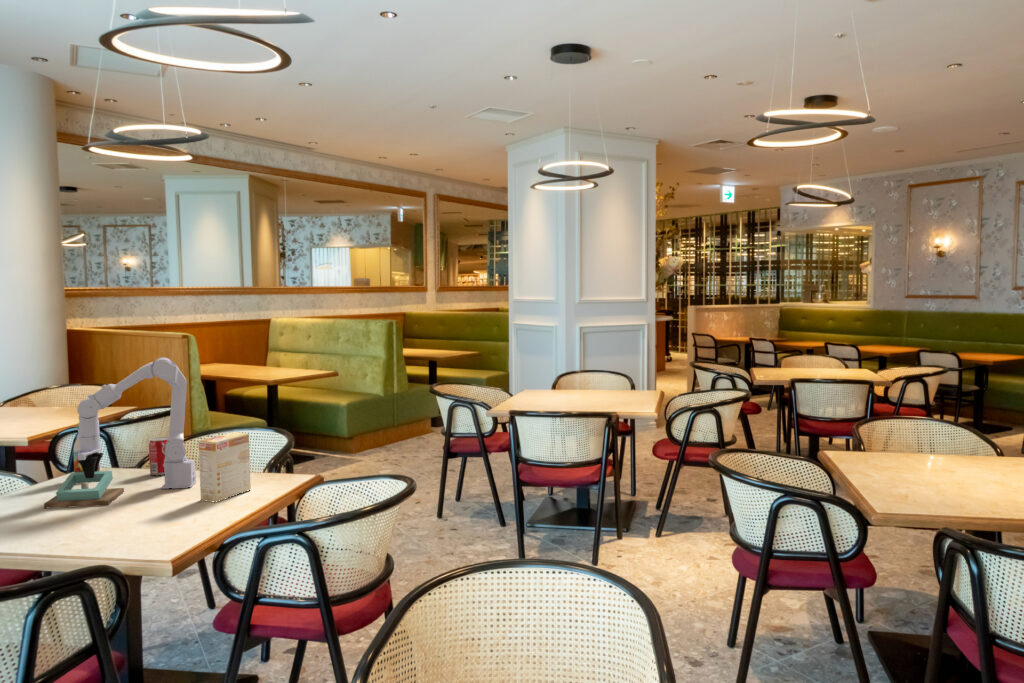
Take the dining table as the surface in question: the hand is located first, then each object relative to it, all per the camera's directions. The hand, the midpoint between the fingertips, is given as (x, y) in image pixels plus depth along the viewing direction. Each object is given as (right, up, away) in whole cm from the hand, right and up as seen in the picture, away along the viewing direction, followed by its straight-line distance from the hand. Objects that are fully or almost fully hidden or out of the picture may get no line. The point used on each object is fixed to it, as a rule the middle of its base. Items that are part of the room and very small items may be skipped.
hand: (91, 476), depth 228 cm
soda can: (+9, -4, +27) cm, 29 cm away
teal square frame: (+1, -3, -4) cm, 5 cm away
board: (+1, -7, -5) cm, 8 cm away
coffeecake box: (+44, -6, +1) cm, 44 cm away
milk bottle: (-13, -5, +19) cm, 24 cm away
